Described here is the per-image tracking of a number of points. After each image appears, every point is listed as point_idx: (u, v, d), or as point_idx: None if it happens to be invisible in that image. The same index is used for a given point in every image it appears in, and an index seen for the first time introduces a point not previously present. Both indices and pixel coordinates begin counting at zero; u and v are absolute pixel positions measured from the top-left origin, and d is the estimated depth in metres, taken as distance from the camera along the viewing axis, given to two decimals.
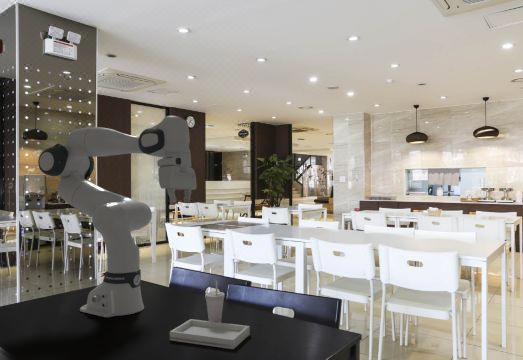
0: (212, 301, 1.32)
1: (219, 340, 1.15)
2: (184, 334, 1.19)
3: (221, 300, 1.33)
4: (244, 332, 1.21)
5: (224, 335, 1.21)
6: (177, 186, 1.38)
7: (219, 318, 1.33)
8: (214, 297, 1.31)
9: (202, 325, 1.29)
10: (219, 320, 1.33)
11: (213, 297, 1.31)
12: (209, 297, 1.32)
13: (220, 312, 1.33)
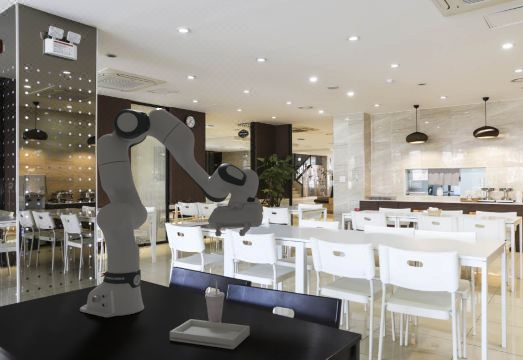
0: (212, 301, 1.32)
1: (219, 340, 1.15)
2: (184, 334, 1.19)
3: (221, 300, 1.33)
4: (244, 332, 1.21)
5: (224, 335, 1.21)
6: None
7: (219, 318, 1.33)
8: (214, 297, 1.31)
9: (202, 325, 1.29)
10: (219, 320, 1.33)
11: (213, 297, 1.31)
12: (209, 297, 1.32)
13: (220, 312, 1.33)
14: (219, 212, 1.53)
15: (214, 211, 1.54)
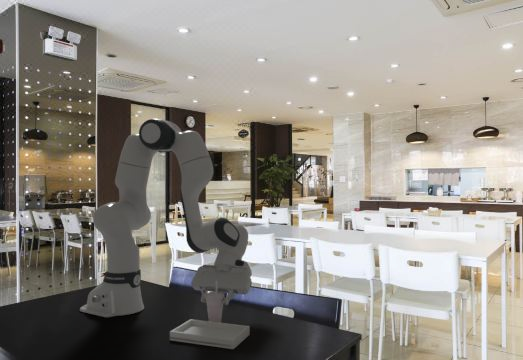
0: (212, 301, 1.32)
1: (219, 340, 1.15)
2: (184, 334, 1.19)
3: (221, 300, 1.33)
4: (244, 332, 1.21)
5: (224, 335, 1.21)
6: None
7: (219, 318, 1.33)
8: (214, 297, 1.31)
9: (202, 325, 1.29)
10: (219, 320, 1.33)
11: (213, 297, 1.31)
12: (209, 297, 1.32)
13: (220, 312, 1.33)
14: (204, 273, 1.41)
15: (198, 271, 1.42)
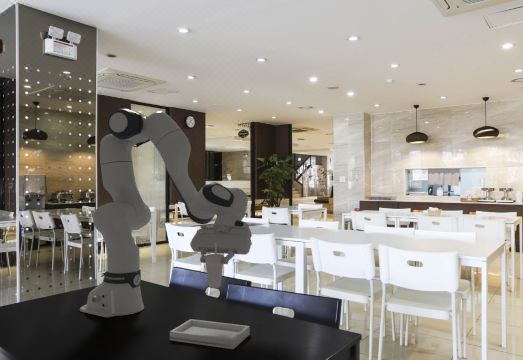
0: (211, 263, 1.30)
1: (219, 340, 1.15)
2: (184, 334, 1.19)
3: (220, 262, 1.31)
4: (244, 332, 1.21)
5: (224, 335, 1.21)
6: None
7: (219, 280, 1.31)
8: (213, 258, 1.29)
9: (202, 325, 1.29)
10: (219, 282, 1.31)
11: (212, 258, 1.29)
12: (208, 259, 1.30)
13: (220, 274, 1.31)
14: (203, 235, 1.39)
15: (197, 233, 1.40)
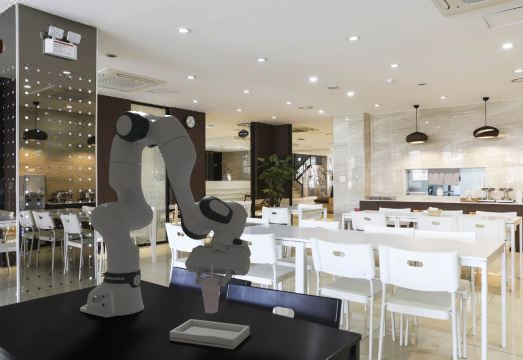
0: (207, 286, 1.20)
1: (219, 340, 1.15)
2: (184, 334, 1.19)
3: (217, 285, 1.21)
4: (244, 332, 1.21)
5: (224, 335, 1.21)
6: None
7: (216, 304, 1.22)
8: (210, 282, 1.20)
9: (202, 325, 1.29)
10: (216, 307, 1.22)
11: (208, 282, 1.20)
12: (204, 282, 1.20)
13: (217, 298, 1.22)
14: (199, 254, 1.30)
15: (193, 252, 1.31)
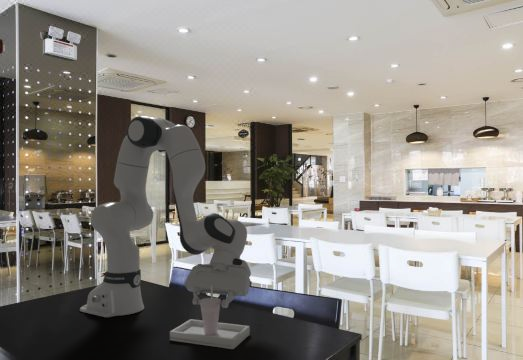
0: (207, 308, 1.21)
1: (219, 340, 1.15)
2: (184, 334, 1.19)
3: (217, 307, 1.22)
4: (244, 332, 1.21)
5: (224, 335, 1.21)
6: None
7: (215, 326, 1.22)
8: (209, 304, 1.20)
9: (202, 325, 1.29)
10: (215, 329, 1.22)
11: (208, 304, 1.20)
12: (204, 304, 1.21)
13: (216, 320, 1.22)
14: (199, 273, 1.30)
15: (193, 271, 1.31)
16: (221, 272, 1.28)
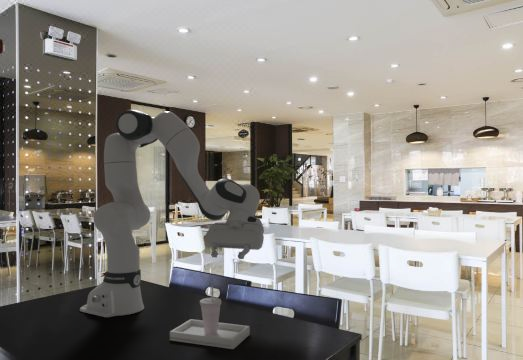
0: (207, 308, 1.20)
1: (219, 340, 1.15)
2: (184, 334, 1.19)
3: (217, 307, 1.22)
4: (244, 332, 1.21)
5: (224, 335, 1.21)
6: None
7: (215, 327, 1.22)
8: (210, 304, 1.20)
9: (202, 325, 1.29)
10: (215, 329, 1.22)
11: (208, 304, 1.20)
12: (204, 304, 1.21)
13: (216, 320, 1.22)
14: (216, 230, 1.41)
15: (211, 229, 1.42)
16: (237, 229, 1.39)
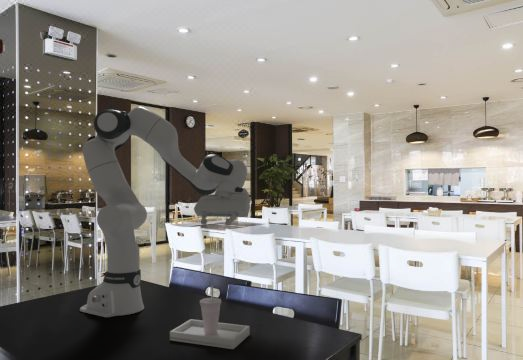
0: (207, 308, 1.21)
1: (219, 340, 1.15)
2: (184, 334, 1.19)
3: (217, 307, 1.22)
4: (244, 332, 1.21)
5: (224, 335, 1.21)
6: None
7: (215, 327, 1.22)
8: (209, 304, 1.20)
9: (202, 325, 1.29)
10: (215, 329, 1.22)
11: (208, 304, 1.20)
12: (204, 304, 1.21)
13: (216, 320, 1.22)
14: (206, 201, 1.52)
15: (200, 199, 1.52)
16: (225, 199, 1.50)
